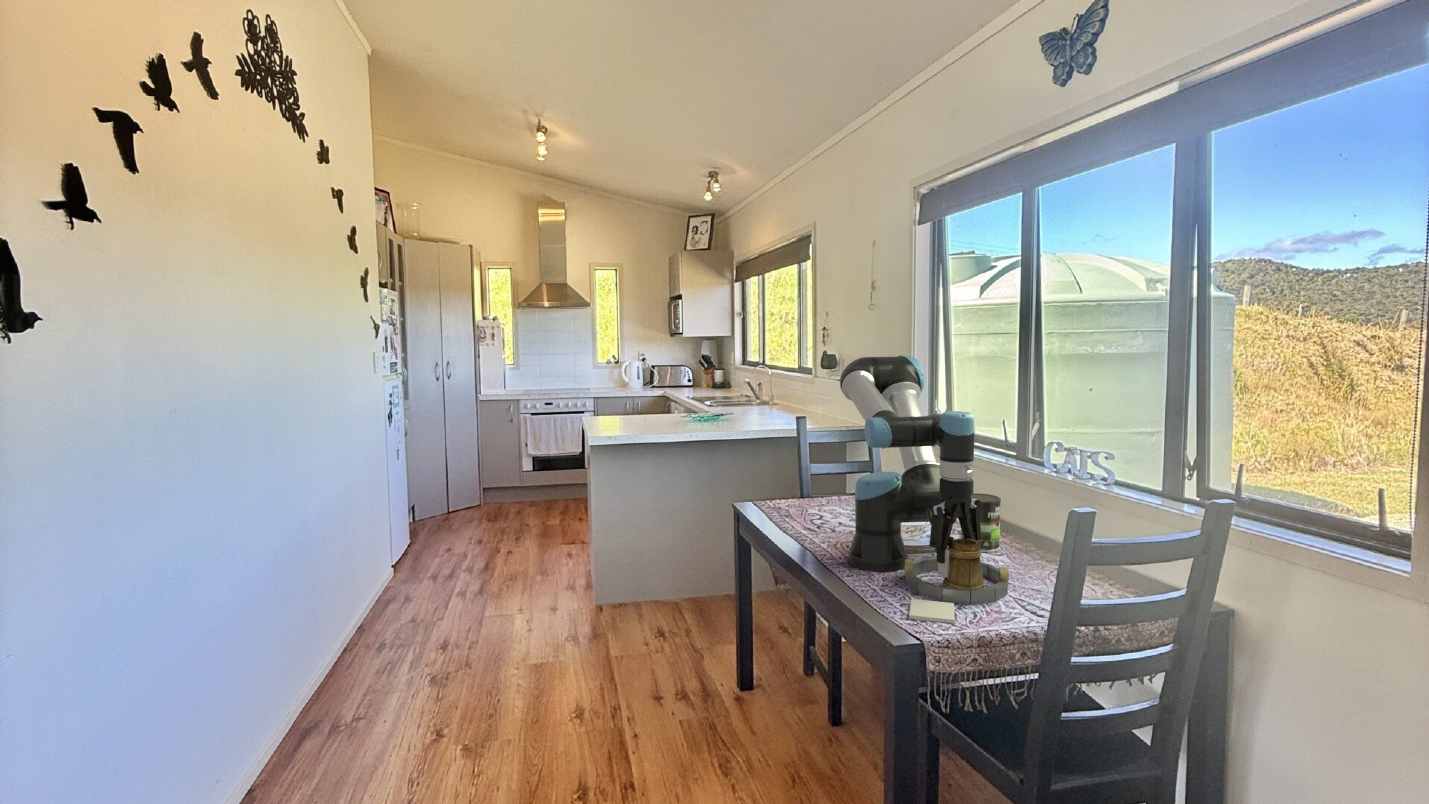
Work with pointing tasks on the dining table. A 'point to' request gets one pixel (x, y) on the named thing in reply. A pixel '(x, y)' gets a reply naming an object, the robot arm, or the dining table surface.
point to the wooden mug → (962, 563)
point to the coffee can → (988, 522)
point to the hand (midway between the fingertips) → (955, 572)
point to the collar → (956, 594)
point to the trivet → (932, 611)
